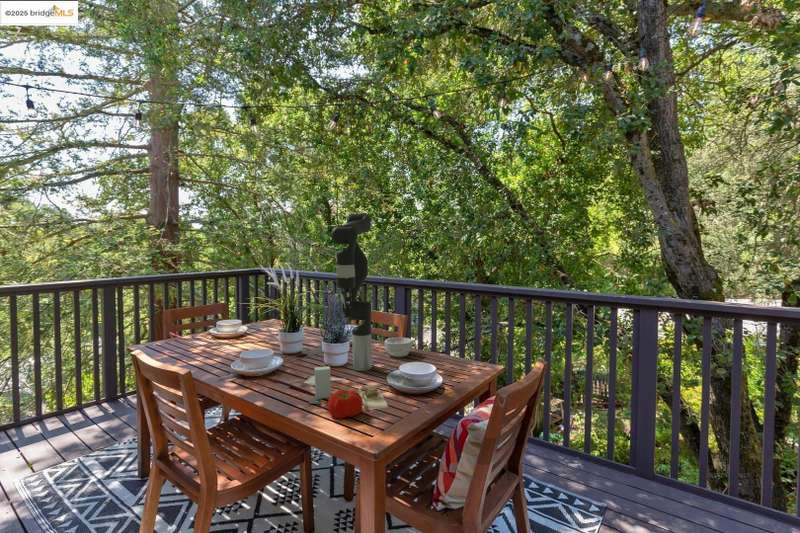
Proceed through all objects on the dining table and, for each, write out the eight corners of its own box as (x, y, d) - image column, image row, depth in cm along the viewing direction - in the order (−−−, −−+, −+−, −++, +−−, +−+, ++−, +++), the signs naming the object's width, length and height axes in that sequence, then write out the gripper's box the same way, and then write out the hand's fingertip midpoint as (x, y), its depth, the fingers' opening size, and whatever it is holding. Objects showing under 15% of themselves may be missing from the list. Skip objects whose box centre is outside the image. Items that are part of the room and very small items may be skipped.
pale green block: (315, 396, 169) (314, 367, 168) (330, 394, 171) (329, 366, 170) (315, 399, 166) (314, 370, 165) (331, 398, 167) (330, 368, 166)
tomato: (318, 418, 151) (317, 394, 150) (341, 405, 161) (341, 383, 161) (347, 428, 143) (346, 403, 143) (370, 414, 154) (369, 391, 153)
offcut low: (364, 392, 172) (364, 388, 172) (374, 391, 173) (374, 387, 173) (366, 397, 166) (366, 394, 166) (377, 396, 167) (377, 393, 167)
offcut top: (364, 389, 171) (364, 386, 171) (372, 388, 172) (372, 384, 172) (369, 393, 166) (369, 390, 166) (377, 392, 168) (377, 388, 168)
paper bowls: (400, 348, 237) (400, 335, 237) (418, 354, 226) (418, 340, 225) (379, 354, 228) (378, 339, 227) (396, 360, 216) (396, 345, 215)
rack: (358, 394, 173) (358, 388, 172) (379, 392, 175) (379, 386, 174) (364, 412, 155) (364, 406, 155) (388, 410, 157) (388, 403, 157)
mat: (318, 392, 175) (318, 391, 175) (336, 393, 174) (336, 391, 174) (308, 404, 163) (308, 403, 163) (328, 405, 162) (328, 403, 162)
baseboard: (366, 395, 173) (376, 385, 184) (366, 388, 172) (376, 378, 184) (300, 387, 182) (313, 378, 193) (300, 381, 181) (313, 372, 193)
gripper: (334, 274, 177) (335, 311, 178) (338, 278, 163) (339, 319, 164) (352, 273, 178) (353, 310, 180) (357, 277, 165) (358, 317, 166)
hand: (346, 314), depth 172 cm, fingers open, 8 cm apart
